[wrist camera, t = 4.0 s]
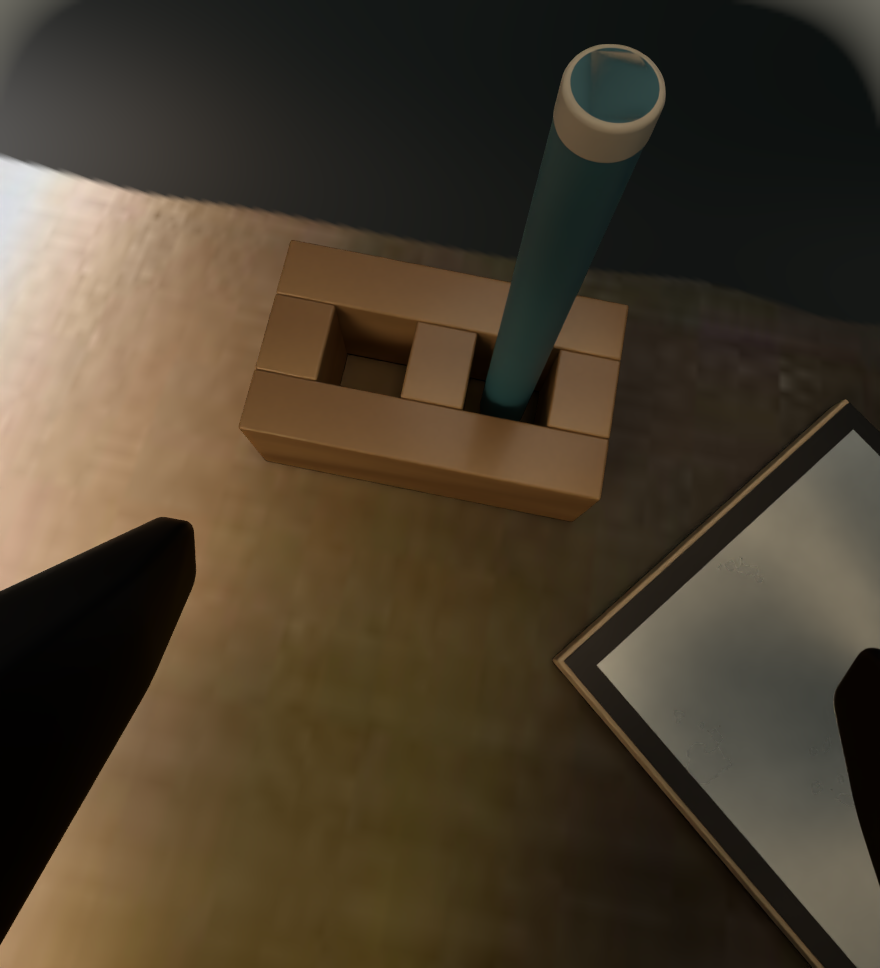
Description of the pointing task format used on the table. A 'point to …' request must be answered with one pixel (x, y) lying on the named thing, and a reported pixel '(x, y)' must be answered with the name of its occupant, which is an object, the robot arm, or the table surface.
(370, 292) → the block
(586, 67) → the stylus
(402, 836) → the table surface
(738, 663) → the tablet
